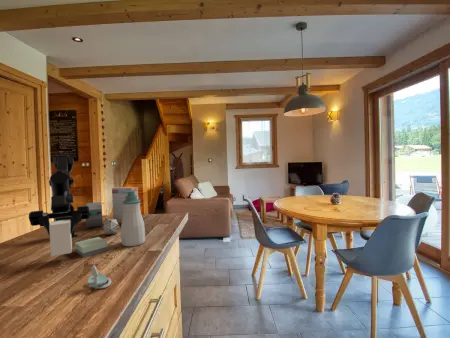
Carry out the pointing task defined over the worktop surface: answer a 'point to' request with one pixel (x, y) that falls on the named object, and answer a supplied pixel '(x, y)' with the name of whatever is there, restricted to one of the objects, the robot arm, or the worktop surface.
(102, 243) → the slab upper
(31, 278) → the worktop surface
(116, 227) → the game die
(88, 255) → the slab lower
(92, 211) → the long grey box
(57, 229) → the post
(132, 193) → the soap bottle
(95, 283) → the pacifier
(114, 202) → the cracker box
